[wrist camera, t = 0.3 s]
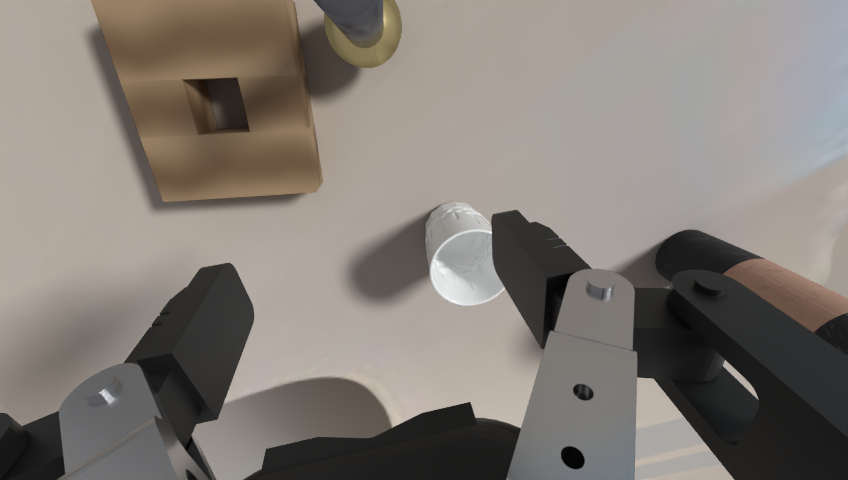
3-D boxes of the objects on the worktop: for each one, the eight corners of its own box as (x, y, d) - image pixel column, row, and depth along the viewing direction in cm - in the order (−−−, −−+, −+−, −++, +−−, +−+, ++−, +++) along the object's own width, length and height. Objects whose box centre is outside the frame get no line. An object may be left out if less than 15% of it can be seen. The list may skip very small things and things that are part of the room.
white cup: (419, 197, 39) (429, 232, 30) (488, 194, 40) (518, 227, 31) (420, 260, 42) (430, 308, 33) (484, 256, 43) (511, 302, 34)
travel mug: (688, 215, 44) (904, 311, 25) (721, 247, 46) (940, 354, 28) (641, 261, 46) (809, 380, 28) (675, 289, 48) (851, 415, 30)
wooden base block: (125, 6, 30) (89, -4, 26) (294, 2, 31) (282, -8, 27) (185, 190, 36) (163, 202, 33) (323, 181, 37) (316, 192, 34)
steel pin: (328, -5, 31) (247, -129, 13) (396, -7, 31) (412, -129, 13) (338, 70, 33) (280, 57, 15) (401, 68, 34) (419, 52, 16)
